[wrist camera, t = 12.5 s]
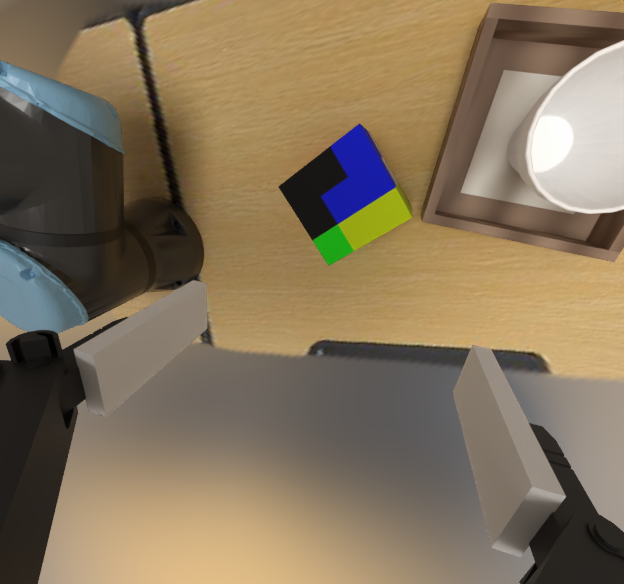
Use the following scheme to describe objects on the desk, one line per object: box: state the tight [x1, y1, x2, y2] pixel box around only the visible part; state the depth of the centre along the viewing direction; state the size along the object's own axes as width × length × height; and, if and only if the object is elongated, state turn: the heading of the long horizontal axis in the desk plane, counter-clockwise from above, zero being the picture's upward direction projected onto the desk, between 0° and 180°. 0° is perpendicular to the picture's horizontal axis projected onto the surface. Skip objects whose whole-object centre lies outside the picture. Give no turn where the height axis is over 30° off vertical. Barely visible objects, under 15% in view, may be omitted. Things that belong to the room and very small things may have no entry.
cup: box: [507, 40, 624, 214], centre depth 26 cm, size 10×10×14 cm
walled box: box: [421, 3, 624, 262], centre depth 31 cm, size 19×19×5 cm
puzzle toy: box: [279, 124, 412, 265], centre depth 35 cm, size 10×10×10 cm
